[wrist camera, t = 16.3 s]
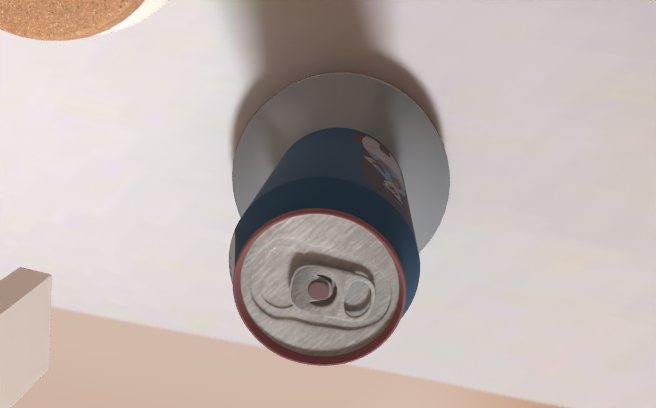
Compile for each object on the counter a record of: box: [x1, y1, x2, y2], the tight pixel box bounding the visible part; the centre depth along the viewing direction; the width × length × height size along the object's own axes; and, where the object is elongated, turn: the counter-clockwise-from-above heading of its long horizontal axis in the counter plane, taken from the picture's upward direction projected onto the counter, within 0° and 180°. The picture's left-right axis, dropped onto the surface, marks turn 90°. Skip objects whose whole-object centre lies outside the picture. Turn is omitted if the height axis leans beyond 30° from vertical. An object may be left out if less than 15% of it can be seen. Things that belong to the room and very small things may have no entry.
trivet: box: [232, 72, 450, 252], centre depth 28 cm, size 12×12×2 cm
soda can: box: [229, 128, 420, 366], centre depth 22 cm, size 7×7×12 cm
